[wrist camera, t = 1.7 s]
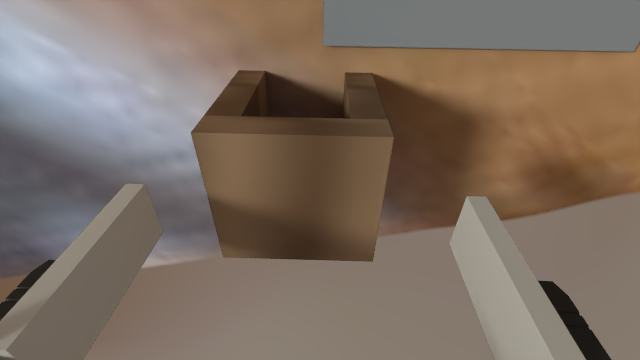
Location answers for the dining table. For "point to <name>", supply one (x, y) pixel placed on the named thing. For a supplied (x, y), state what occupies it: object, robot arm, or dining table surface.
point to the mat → (484, 24)
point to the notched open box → (295, 173)
